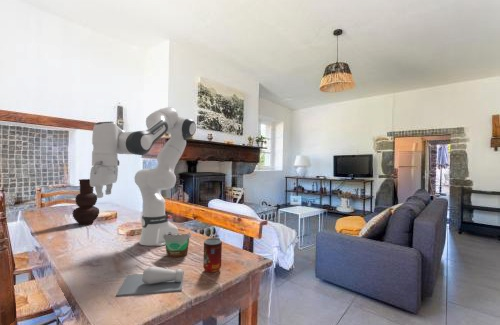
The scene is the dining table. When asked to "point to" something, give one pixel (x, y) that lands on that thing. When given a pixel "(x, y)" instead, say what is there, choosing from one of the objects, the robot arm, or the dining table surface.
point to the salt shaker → (161, 275)
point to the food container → (177, 245)
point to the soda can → (212, 255)
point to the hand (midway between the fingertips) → (104, 195)
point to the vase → (85, 204)
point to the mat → (146, 286)
